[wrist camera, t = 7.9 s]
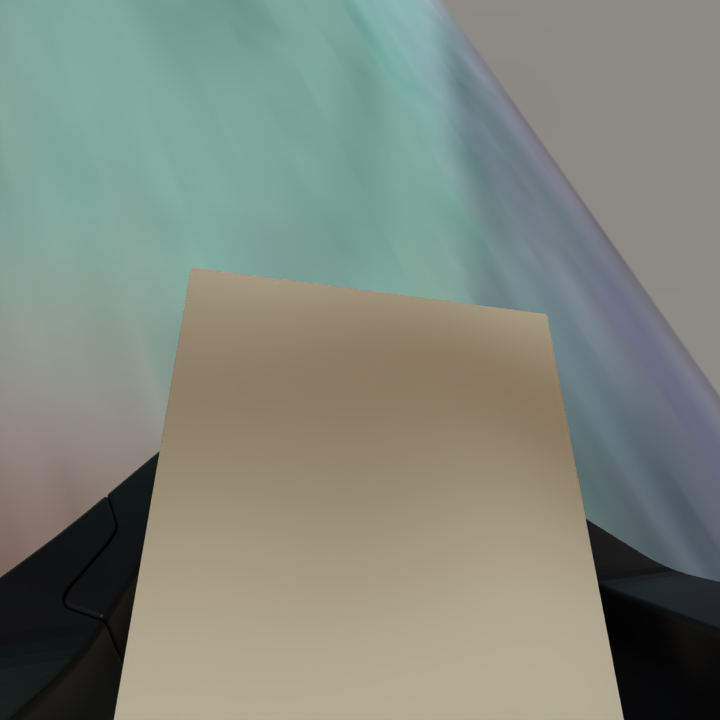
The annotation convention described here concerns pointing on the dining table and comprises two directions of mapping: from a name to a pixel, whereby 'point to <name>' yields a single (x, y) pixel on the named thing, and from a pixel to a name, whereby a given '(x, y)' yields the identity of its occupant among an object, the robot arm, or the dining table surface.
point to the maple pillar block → (364, 517)
